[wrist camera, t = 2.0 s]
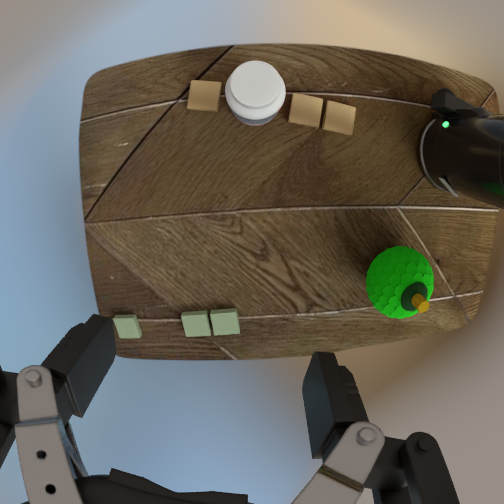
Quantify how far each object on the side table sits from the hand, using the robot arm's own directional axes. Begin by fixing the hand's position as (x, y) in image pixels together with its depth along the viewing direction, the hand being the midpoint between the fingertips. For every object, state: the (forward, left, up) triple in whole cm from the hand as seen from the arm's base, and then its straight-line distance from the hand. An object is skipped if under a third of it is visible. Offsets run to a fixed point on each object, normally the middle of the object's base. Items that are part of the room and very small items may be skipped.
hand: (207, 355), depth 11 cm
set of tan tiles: (-13, +2, -23) cm, 26 cm away
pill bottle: (-13, 0, -23) cm, 26 cm away
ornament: (+3, +19, -23) cm, 30 cm away
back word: (+15, -6, -23) cm, 28 cm away
